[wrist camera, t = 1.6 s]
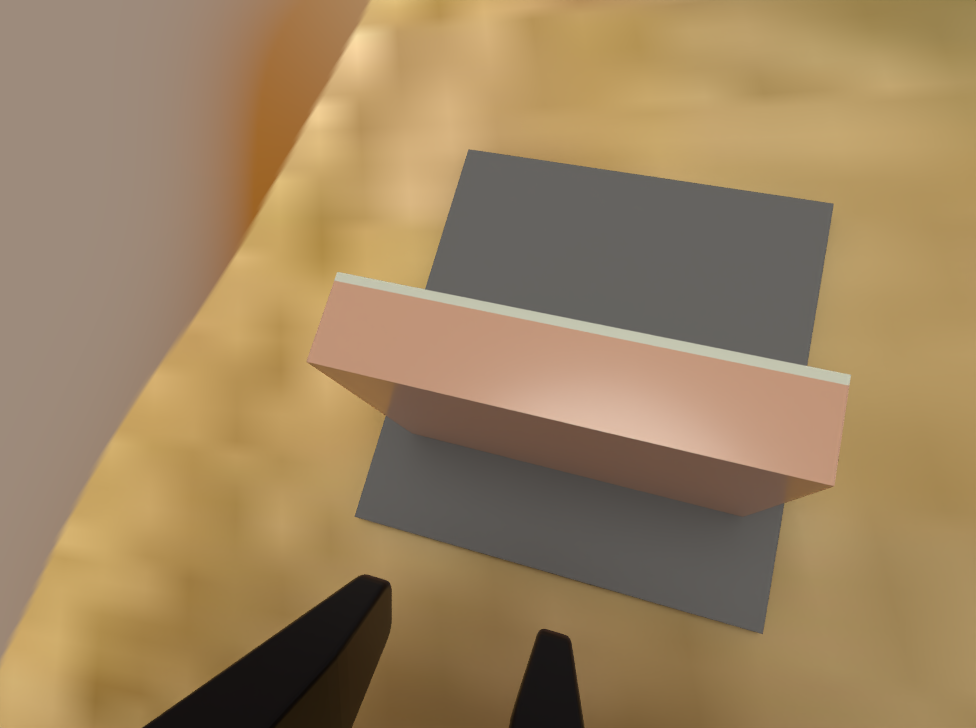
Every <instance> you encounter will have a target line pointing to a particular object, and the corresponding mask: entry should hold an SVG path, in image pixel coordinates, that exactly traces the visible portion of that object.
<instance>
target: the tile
mask: <svg viewBox="0 0 976 728" xmlns="http://www.w3.org/2000/svg"><path fill="white" fill-rule="evenodd" d="M307 362H308V363H309V364H311V365H312V366H313V367H315V368H316V369H318V370H319V371H321V372H322V373H324V374H325V375H327V376H328V377H330V378H331V379H333V380H334V381H336V382H337V383H339V384H340V385H341V386H343V387H344V388H346V389H347V390H349V391H350V392H352V393H353V394H355V395H356V396H358V397H359V398H361V399H362V400H364V401H365V402H366V403H368V404H369V405H371V406H372V407H374V408H375V409H377V410H378V411H380V412H381V413H383V414H384V415H386V416H387V417H389V418H390V419H392V420H393V421H394V422H396V423H397V424H399V425H400V426H402V427H403V428H405V429H406V430H408V431H409V432H411V433H412V434H416V435H420V436H424V437H428V438H432V439H436V440H440V441H444V442H448V443H452V444H456V445H460V446H464V447H468V448H472V449H476V450H480V451H484V452H488V453H492V454H496V455H500V456H503V457H507V458H511V459H515V460H519V461H523V462H527V463H531V464H535V465H539V466H543V467H547V468H551V469H555V470H559V471H563V472H567V473H571V474H575V475H579V476H583V477H587V478H591V479H595V480H599V481H603V482H606V483H610V484H614V485H618V486H622V487H626V488H630V489H634V490H638V491H642V492H646V493H650V494H654V495H658V496H662V497H666V498H670V499H674V500H678V501H682V502H686V503H690V504H694V505H698V506H702V507H706V508H709V509H713V510H717V511H721V512H725V513H729V514H733V515H737V516H741V517H744V516H747V515H750V514H753V513H756V512H759V511H762V510H765V509H768V508H771V507H774V506H777V505H780V504H783V503H786V502H789V501H792V500H795V499H798V498H801V497H804V496H807V495H810V494H813V493H816V492H819V491H822V490H825V489H828V488H831V487H833V486H834V485H835V478H836V471H837V464H838V458H839V451H840V444H841V438H842V431H843V424H844V417H845V411H846V404H847V397H848V391H849V384H850V377H851V375H849V374H844V373H839V372H834V371H829V370H824V369H819V368H814V367H809V366H804V365H799V364H794V363H789V362H784V361H779V360H774V359H769V358H764V357H759V356H754V355H749V354H744V353H739V352H734V351H729V350H724V349H719V348H714V347H709V346H704V345H699V344H694V343H689V342H684V341H679V340H674V339H669V338H664V337H659V336H654V335H649V334H645V333H640V332H635V331H630V330H625V329H620V328H615V327H610V326H605V325H600V324H595V323H590V322H585V321H580V320H575V319H570V318H565V317H560V316H555V315H550V314H545V313H540V312H535V311H530V310H525V309H520V308H515V307H510V306H505V305H500V304H495V303H490V302H485V301H480V300H475V299H470V298H465V297H460V296H455V295H450V294H445V293H440V292H435V291H430V290H425V289H420V288H415V287H410V286H405V285H400V284H395V283H390V282H385V281H380V280H375V279H370V278H365V277H360V276H355V275H350V274H345V273H340V272H337V275H336V278H335V280H334V283H333V286H332V289H331V292H330V295H329V298H328V301H327V304H326V307H325V309H324V312H323V315H322V318H321V321H320V324H319V327H318V330H317V333H316V336H315V338H314V341H313V344H312V347H311V350H310V353H309V356H308V359H307Z"/></svg>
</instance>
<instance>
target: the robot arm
mask: <svg viewBox="0 0 976 728" xmlns="http://www.w3.org/2000/svg"><path fill="white" fill-rule="evenodd" d="M391 623H392V589H391V585H390V583H389V582H388V581H386V580H383V579H380V578H377V577H374V576H370V575H365V574H364V575H360V576H358V577H357V578H355V579H354V580H352V581H351V582H349V583H348V584H347V585H345V586H344V587H342V588H341V589H339V590H338V591H337V592H335V593H334V594H332V595H331V596H329V597H328V598H327V599H325V600H324V601H322V602H321V603H319V604H318V605H317V606H315V607H314V608H312V609H311V610H309V611H308V612H307V613H305V614H304V615H302V616H301V617H299V618H298V619H297V620H295V621H294V622H292V623H291V624H289V625H288V626H287V627H285V628H284V629H282V630H281V631H279V632H278V633H277V634H275V635H274V636H272V637H271V638H270V639H268V640H267V641H265V642H264V643H262V644H261V645H260V646H258V647H257V648H255V649H254V650H252V651H251V652H250V653H248V654H247V655H245V656H244V657H242V658H241V659H240V660H238V661H237V662H235V663H234V664H232V665H231V666H230V667H228V668H227V669H225V670H224V671H222V672H221V673H220V674H218V675H217V676H215V677H214V678H212V679H211V680H210V681H208V682H207V683H205V684H204V685H202V686H201V687H200V688H198V689H197V690H195V691H194V692H192V693H191V694H190V695H188V696H187V697H185V698H184V699H183V700H181V701H180V702H178V703H177V704H175V705H174V706H173V707H171V708H170V709H168V710H167V711H165V712H164V713H163V714H161V715H160V716H158V717H157V718H155V719H154V720H153V721H151V722H150V723H148V724H147V725H145V726H144V727H143V728H352V726H353V723H354V721H355V718H356V716H357V713H358V711H359V708H360V706H361V703H362V701H363V698H364V696H365V693H366V691H367V689H368V686H369V684H370V681H371V679H372V676H373V674H374V671H375V669H376V666H377V664H378V661H379V659H380V656H381V654H382V652H383V649H384V647H385V644H386V642H387V639H388V636H389V633H390V629H391ZM509 728H584V722H583V715H582V709H581V702H580V696H579V689H578V682H577V676H576V669H575V663H574V656H573V650H572V644H571V640H570V638H569V637H568V636H566V635H564V634H560V633H557V632H554V631H550V630H547V629H541V630H540V631H539V632H538V634H537V636H536V639H535V642H534V646H533V649H532V652H531V655H530V658H529V661H528V664H527V667H526V670H525V673H524V676H523V680H522V683H521V686H520V689H519V692H518V695H517V698H516V701H515V704H514V708H513V712H512V715H511V719H510V725H509Z"/></svg>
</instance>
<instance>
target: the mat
mask: <svg viewBox="0 0 976 728" xmlns="http://www.w3.org/2000/svg"><path fill="white" fill-rule="evenodd" d="M833 205H834V204H832V203H825V202H818V201H811V200H805V199H798V198H791V197H785V196H778V195H771V194H764V193H758V192H751V191H744V190H738V189H731V188H724V187H718V186H711V185H704V184H697V183H691V182H684V181H677V180H671V179H664V178H657V177H650V176H644V175H637V174H630V173H624V172H617V171H610V170H603V169H597V168H590V167H583V166H577V165H570V164H563V163H557V162H550V161H543V160H536V159H530V158H523V157H516V156H510V155H503V154H496V153H489V152H483V151H476V150H468V153H467V156H466V159H465V163H464V166H463V169H462V172H461V176H460V179H459V182H458V185H457V188H456V192H455V195H454V198H453V201H452V205H451V208H450V211H449V214H448V217H447V221H446V224H445V227H444V230H443V234H442V237H441V240H440V243H439V246H438V250H437V253H436V256H435V259H434V263H433V266H432V269H431V272H430V275H429V279H428V282H427V285H426V288H425V290H430V291H435V292H440V293H445V294H450V295H455V296H460V297H465V298H470V299H475V300H480V301H485V302H490V303H495V304H500V305H505V306H510V307H515V308H520V309H525V310H530V311H535V312H540V313H545V314H550V315H555V316H560V317H565V318H570V319H575V320H580V321H585V322H590V323H595V324H600V325H605V326H610V327H615V328H620V329H625V330H630V331H635V332H640V333H645V334H649V335H654V336H659V337H664V338H669V339H674V340H679V341H684V342H689V343H694V344H699V345H704V346H709V347H714V348H719V349H724V350H729V351H734V352H739V353H744V354H749V355H754V356H759V357H764V358H769V359H774V360H779V361H784V362H789V363H794V364H799V365H804V366H807V362H808V356H809V350H810V344H811V338H812V332H813V326H814V320H815V314H816V308H817V302H818V296H819V290H820V284H821V277H822V271H823V265H824V259H825V253H826V247H827V241H828V235H829V229H830V223H831V217H832V211H833ZM783 508H784V503H783V504H780V505H777V506H774V507H771V508H768V509H765V510H762V511H759V512H756V513H753V514H750V515H747V516H744V517H741V516H737V515H733V514H729V513H725V512H721V511H717V510H713V509H709V508H706V507H702V506H698V505H694V504H690V503H686V502H682V501H678V500H674V499H670V498H666V497H662V496H658V495H654V494H650V493H646V492H642V491H638V490H634V489H630V488H626V487H622V486H618V485H614V484H610V483H606V482H603V481H599V480H595V479H591V478H587V477H583V476H579V475H575V474H571V473H567V472H563V471H559V470H555V469H551V468H547V467H543V466H539V465H535V464H531V463H527V462H523V461H519V460H515V459H511V458H507V457H503V456H500V455H496V454H492V453H488V452H484V451H480V450H476V449H472V448H468V447H464V446H460V445H456V444H452V443H448V442H444V441H440V440H436V439H432V438H428V437H424V436H420V435H416V434H412V433H411V432H409V431H408V430H406V429H405V428H403V427H402V426H400V425H399V424H397V423H396V422H394V421H393V420H392V419H390V418H389V417H387V416H386V417H385V420H384V424H383V427H382V430H381V433H380V437H379V440H378V443H377V446H376V449H375V453H374V456H373V459H372V462H371V466H370V469H369V472H368V475H367V478H366V482H365V485H364V488H363V491H362V495H361V498H360V501H359V504H358V507H357V511H356V514H355V517H358V518H361V519H365V520H368V521H372V522H375V523H379V524H382V525H386V526H389V527H393V528H396V529H400V530H403V531H406V532H410V533H413V534H417V535H420V536H424V537H427V538H431V539H434V540H438V541H441V542H445V543H448V544H452V545H455V546H459V547H462V548H466V549H469V550H473V551H476V552H480V553H483V554H486V555H490V556H493V557H497V558H500V559H504V560H507V561H511V562H514V563H518V564H521V565H525V566H528V567H532V568H535V569H539V570H542V571H546V572H549V573H553V574H556V575H559V576H563V577H566V578H570V579H573V580H577V581H580V582H584V583H587V584H591V585H594V586H598V587H601V588H605V589H608V590H612V591H615V592H619V593H622V594H626V595H629V596H632V597H636V598H639V599H643V600H646V601H650V602H653V603H657V604H660V605H664V606H667V607H671V608H674V609H678V610H681V611H685V612H688V613H692V614H695V615H699V616H702V617H706V618H709V619H712V620H716V621H719V622H723V623H726V624H730V625H733V626H737V627H740V628H744V629H747V630H751V631H754V632H758V633H761V634H763V629H764V623H765V617H766V611H767V605H768V599H769V593H770V587H771V581H772V575H773V569H774V563H775V556H776V550H777V544H778V538H779V532H780V526H781V520H782V514H783Z"/></svg>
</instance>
